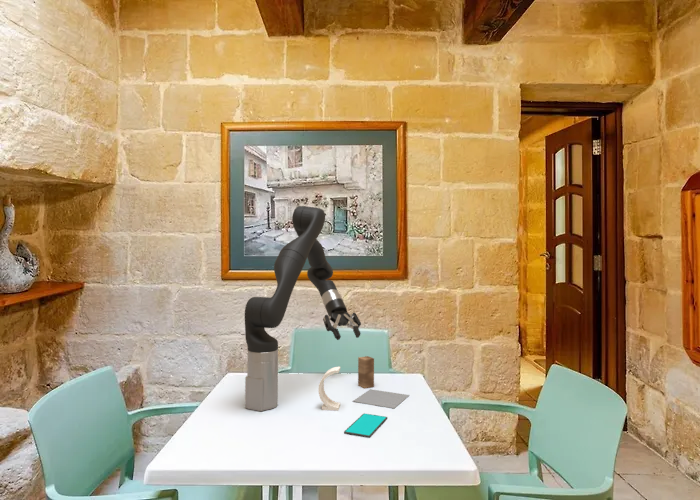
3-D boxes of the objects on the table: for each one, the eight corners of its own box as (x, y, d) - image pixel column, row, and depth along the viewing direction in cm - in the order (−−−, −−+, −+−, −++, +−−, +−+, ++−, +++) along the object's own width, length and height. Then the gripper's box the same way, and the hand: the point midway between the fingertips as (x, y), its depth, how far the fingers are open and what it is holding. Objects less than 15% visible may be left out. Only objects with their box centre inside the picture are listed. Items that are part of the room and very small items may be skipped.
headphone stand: (338, 410, 138) (338, 370, 138) (318, 409, 138) (318, 369, 138) (340, 405, 142) (340, 366, 142) (320, 404, 143) (321, 365, 143)
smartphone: (343, 431, 121) (363, 413, 134) (343, 435, 121) (363, 416, 134) (370, 436, 118) (387, 416, 132) (369, 439, 118) (387, 419, 132)
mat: (394, 408, 140) (394, 408, 140) (352, 401, 146) (352, 401, 146) (409, 395, 152) (409, 395, 152) (370, 389, 158) (370, 389, 158)
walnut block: (364, 388, 160) (364, 359, 160) (358, 385, 163) (358, 357, 163) (373, 386, 162) (374, 358, 162) (367, 384, 165) (367, 356, 165)
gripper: (321, 298, 176) (336, 333, 166) (352, 296, 184) (368, 329, 174) (314, 310, 181) (328, 345, 171) (345, 308, 188) (361, 341, 178)
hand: (349, 337), depth 172 cm, fingers open, 8 cm apart
